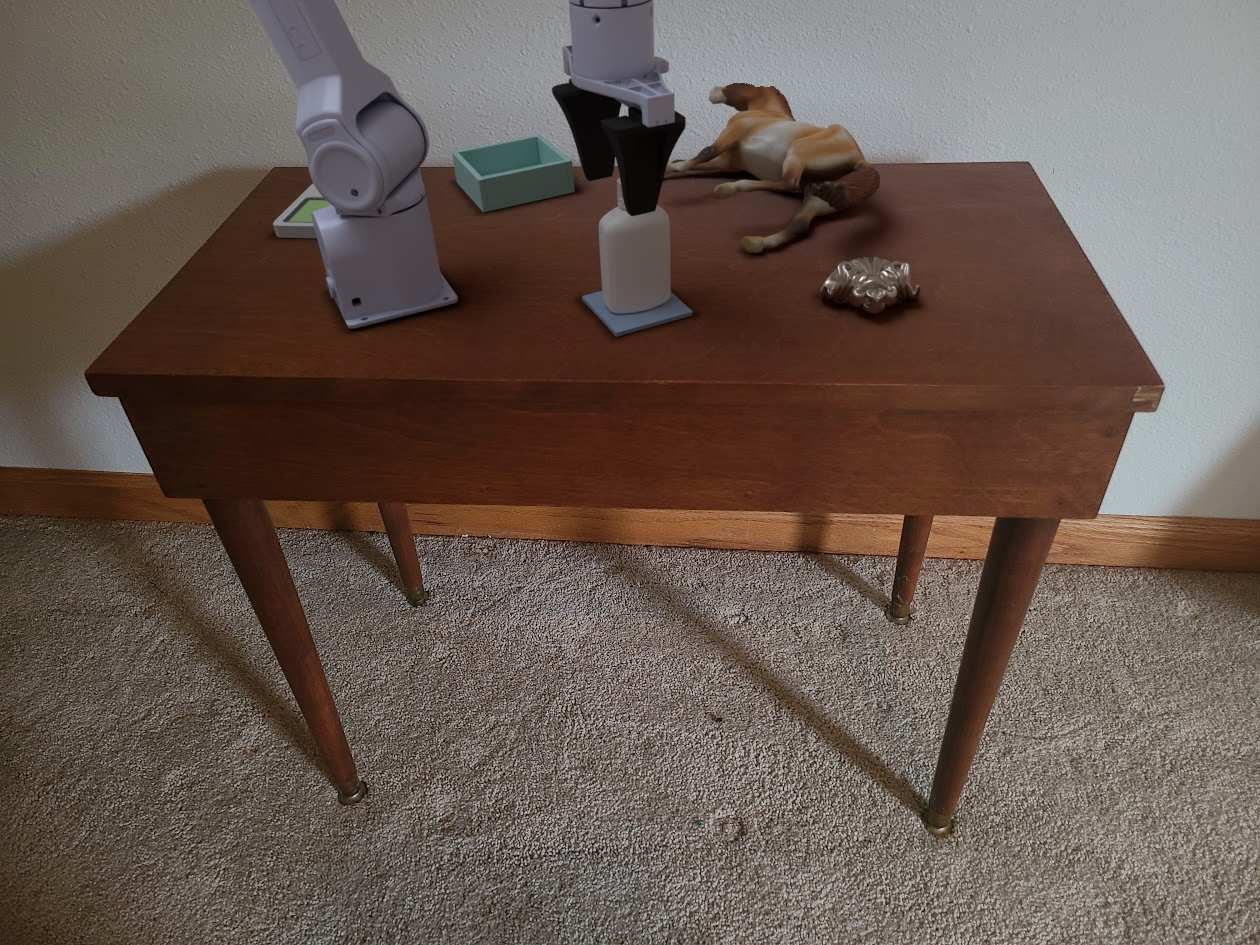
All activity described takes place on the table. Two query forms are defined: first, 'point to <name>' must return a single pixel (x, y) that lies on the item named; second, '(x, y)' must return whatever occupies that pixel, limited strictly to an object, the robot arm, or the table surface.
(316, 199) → the handheld gaming console
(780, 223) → the table surface
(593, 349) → the table surface
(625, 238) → the eye dropper bottle
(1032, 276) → the table surface
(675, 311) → the pad
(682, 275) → the table surface
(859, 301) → the ornament
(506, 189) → the box
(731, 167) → the horse figurine
